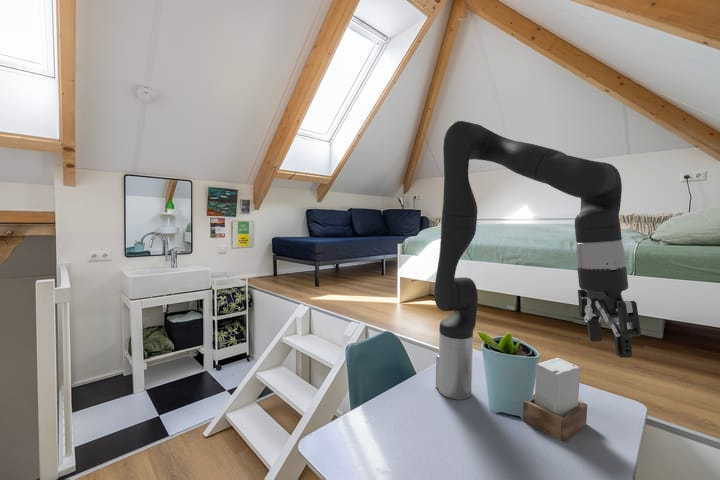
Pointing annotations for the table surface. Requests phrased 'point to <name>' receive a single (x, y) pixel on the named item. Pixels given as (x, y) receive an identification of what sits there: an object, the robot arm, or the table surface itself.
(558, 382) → the skincare box
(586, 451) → the table surface
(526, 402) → the box
